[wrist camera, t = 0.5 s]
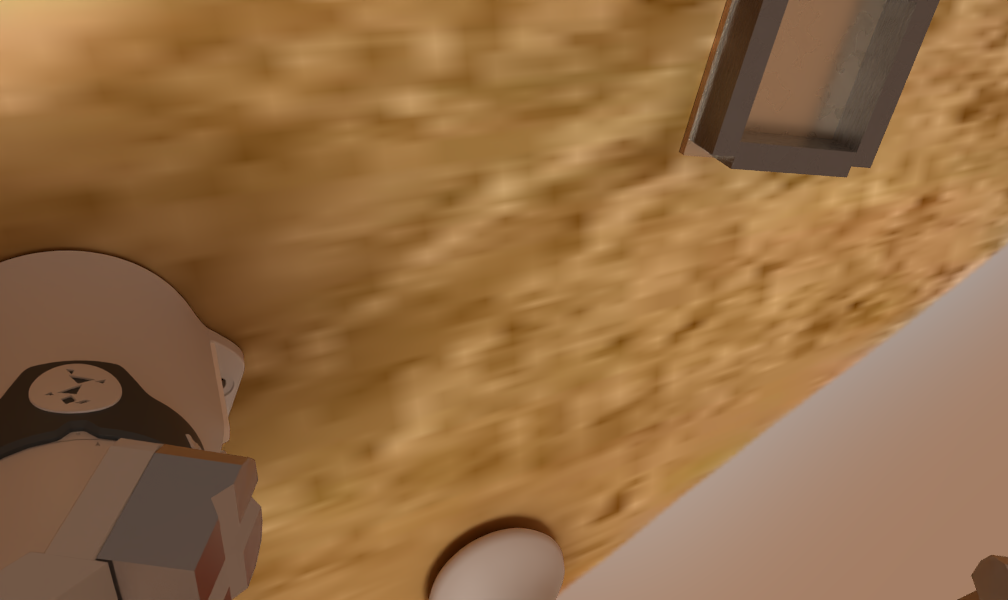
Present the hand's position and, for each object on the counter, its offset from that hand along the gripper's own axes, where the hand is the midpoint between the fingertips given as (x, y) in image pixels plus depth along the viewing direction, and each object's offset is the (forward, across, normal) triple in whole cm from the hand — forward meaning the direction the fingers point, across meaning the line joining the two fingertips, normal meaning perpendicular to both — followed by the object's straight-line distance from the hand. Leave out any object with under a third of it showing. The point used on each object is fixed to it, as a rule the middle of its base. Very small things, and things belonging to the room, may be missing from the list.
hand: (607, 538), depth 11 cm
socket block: (+53, +14, -14) cm, 57 cm away
